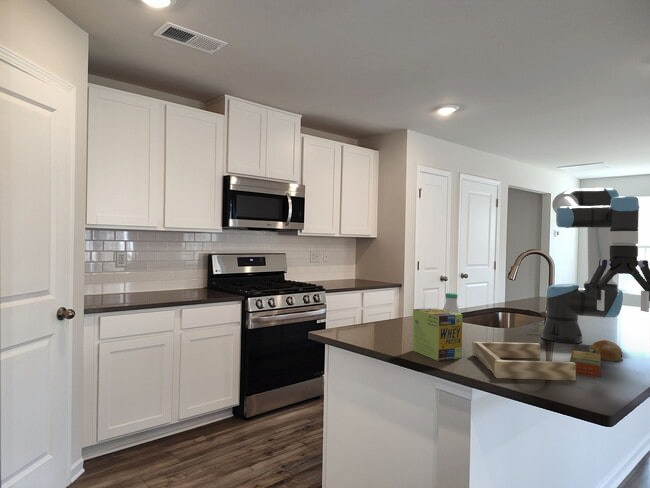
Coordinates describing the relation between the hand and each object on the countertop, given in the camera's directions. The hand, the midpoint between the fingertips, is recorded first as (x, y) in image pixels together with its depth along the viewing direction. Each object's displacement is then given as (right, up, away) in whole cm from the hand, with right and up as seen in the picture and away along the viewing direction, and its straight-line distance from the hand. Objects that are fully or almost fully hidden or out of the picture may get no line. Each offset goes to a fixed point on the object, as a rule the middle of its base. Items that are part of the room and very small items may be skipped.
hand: (622, 310), depth 138 cm
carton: (-12, -19, +1) cm, 23 cm away
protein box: (-56, -18, +16) cm, 61 cm away
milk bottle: (-46, -18, +33) cm, 59 cm away
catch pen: (-32, -19, +2) cm, 37 cm away
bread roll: (+4, -19, +15) cm, 25 cm away
